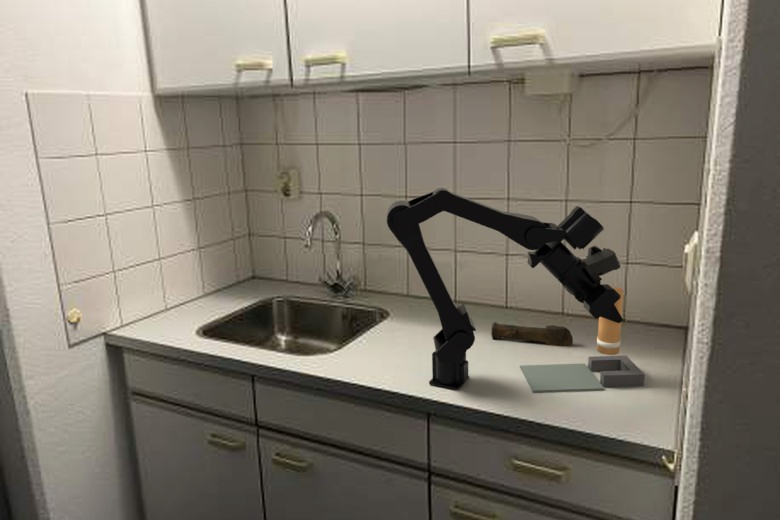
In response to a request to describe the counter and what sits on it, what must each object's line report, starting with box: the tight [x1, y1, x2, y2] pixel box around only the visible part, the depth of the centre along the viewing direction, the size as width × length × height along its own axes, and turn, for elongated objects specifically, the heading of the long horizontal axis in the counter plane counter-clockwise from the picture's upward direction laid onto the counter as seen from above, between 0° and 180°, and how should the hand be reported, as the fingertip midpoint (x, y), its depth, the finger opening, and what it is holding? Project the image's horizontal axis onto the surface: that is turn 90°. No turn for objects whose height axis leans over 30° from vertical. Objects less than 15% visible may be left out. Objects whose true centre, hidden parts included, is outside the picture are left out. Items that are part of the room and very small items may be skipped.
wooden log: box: [491, 322, 574, 347], centre depth 142 cm, size 19×4×5 cm, turn 65°
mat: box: [519, 363, 605, 393], centre depth 123 cm, size 14×12×1 cm
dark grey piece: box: [587, 355, 646, 388], centre depth 122 cm, size 8×9×2 cm
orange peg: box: [596, 286, 624, 356], centre depth 120 cm, size 4×4×13 cm
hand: (616, 317), depth 120 cm, fingers closed on orange peg, 4 cm apart
